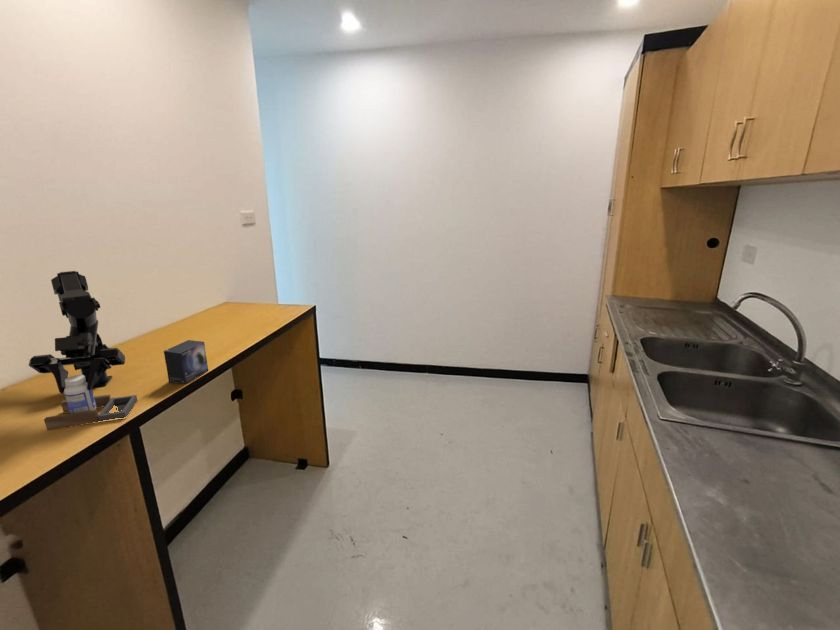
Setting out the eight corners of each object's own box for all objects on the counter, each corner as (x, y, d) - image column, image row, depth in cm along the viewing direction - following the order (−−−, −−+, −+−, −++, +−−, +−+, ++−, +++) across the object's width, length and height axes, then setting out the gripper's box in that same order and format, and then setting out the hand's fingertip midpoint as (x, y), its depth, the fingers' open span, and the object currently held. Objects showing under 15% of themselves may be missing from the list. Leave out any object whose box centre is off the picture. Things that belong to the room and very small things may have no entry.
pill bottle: (84, 405, 108) (75, 372, 105) (102, 407, 107) (93, 374, 104) (64, 416, 103) (54, 381, 100) (83, 418, 102) (73, 383, 99)
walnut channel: (65, 410, 108) (62, 400, 107) (112, 404, 111) (109, 394, 110) (47, 430, 99) (43, 419, 98) (98, 422, 102) (95, 412, 101)
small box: (186, 384, 123) (180, 352, 120) (167, 382, 124) (161, 351, 121) (209, 370, 133) (205, 340, 130) (192, 368, 134) (187, 339, 131)
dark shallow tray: (113, 404, 111) (111, 398, 111) (137, 400, 113) (136, 394, 113) (99, 422, 102) (97, 416, 102) (126, 418, 104) (124, 412, 104)
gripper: (21, 326, 99) (8, 386, 92) (112, 319, 105) (106, 375, 98) (46, 345, 108) (36, 400, 101) (127, 337, 114) (123, 389, 108)
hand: (75, 391), depth 102 cm, fingers closed on pill bottle, 5 cm apart
